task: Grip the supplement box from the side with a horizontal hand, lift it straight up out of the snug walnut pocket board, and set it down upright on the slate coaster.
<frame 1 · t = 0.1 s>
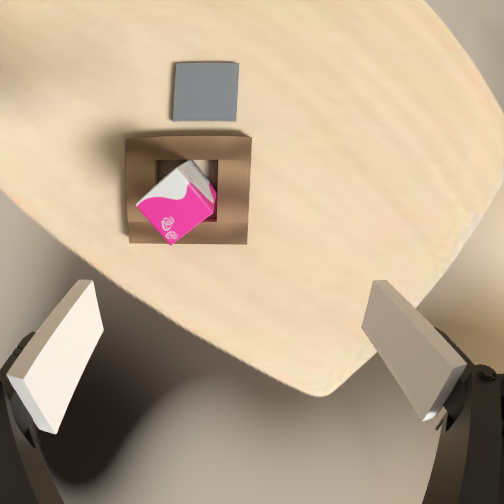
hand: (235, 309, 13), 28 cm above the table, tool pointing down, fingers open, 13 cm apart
pocket board: (187, 189, 38), on the table
supplement box: (187, 188, 38), resting in pocket board
coaster: (206, 91, 34), on the table
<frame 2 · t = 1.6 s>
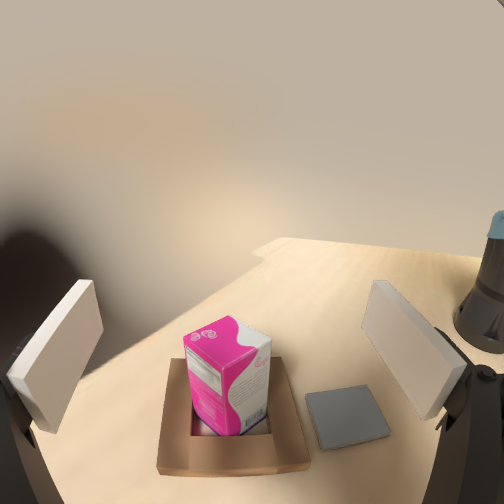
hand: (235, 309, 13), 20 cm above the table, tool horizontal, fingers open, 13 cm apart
pocket board: (229, 416, 29), on the table
supplement box: (229, 417, 29), resting in pocket board
coaster: (346, 417, 29), on the table
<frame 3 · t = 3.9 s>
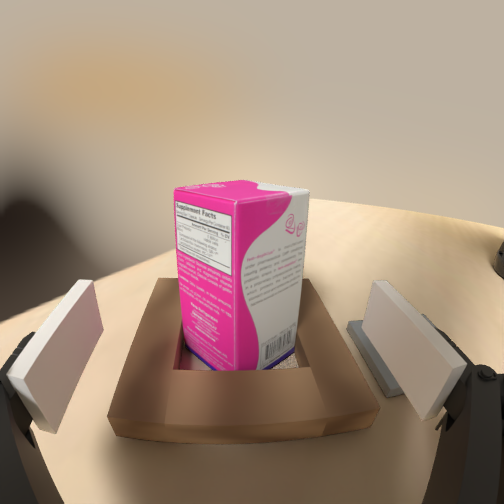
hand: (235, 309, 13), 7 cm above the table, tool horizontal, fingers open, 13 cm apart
pocket board: (238, 350, 20), on the table
supplement box: (238, 353, 21), resting in pocket board
coaster: (407, 352, 20), on the table
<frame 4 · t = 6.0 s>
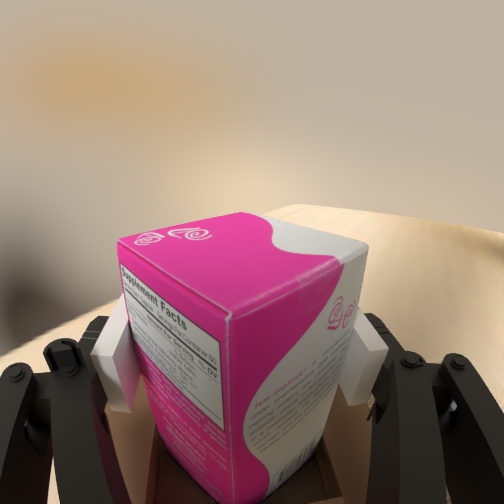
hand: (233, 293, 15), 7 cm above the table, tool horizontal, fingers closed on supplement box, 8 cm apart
pocket board: (237, 454, 13), on the table
supplement box: (237, 456, 13), resting in pocket board, touching gripper
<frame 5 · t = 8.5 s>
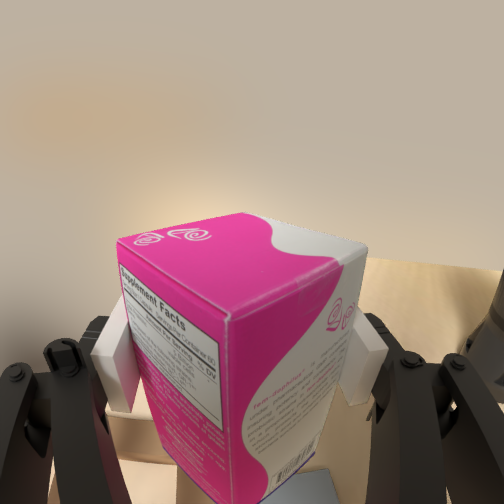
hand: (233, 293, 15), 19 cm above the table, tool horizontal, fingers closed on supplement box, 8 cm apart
pocket board: (133, 496, 17), on the table
supplement box: (236, 456, 13), point 11 cm above the table, touching gripper
when the fingers open (9 cm above the table, at t = 11.0 s): supplement box drops 2 cm, resting on coaster.
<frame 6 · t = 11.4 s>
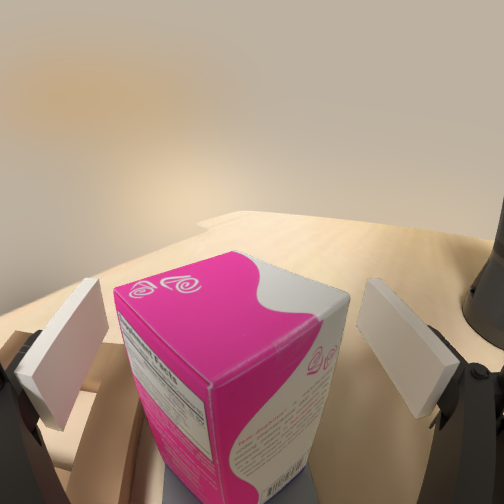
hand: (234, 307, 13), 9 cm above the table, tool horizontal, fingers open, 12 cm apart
pocket board: (47, 424, 14), on the table
supplement box: (231, 470, 13), point 1 cm above the table, touching coaster
coaster: (236, 473, 13), on the table
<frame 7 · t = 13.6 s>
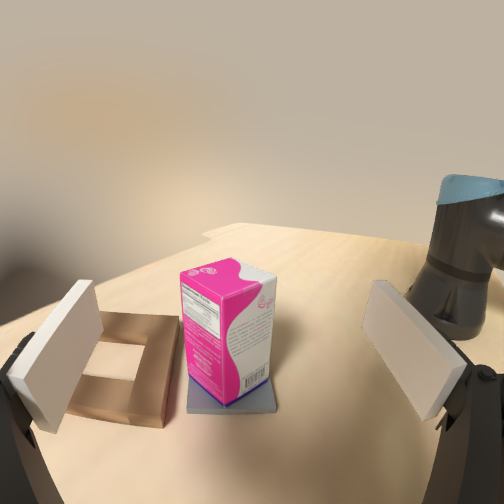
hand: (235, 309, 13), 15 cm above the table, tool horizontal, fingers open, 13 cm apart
pocket board: (110, 364, 28), on the table
supplement box: (226, 380, 27), point 1 cm above the table, touching coaster
coaster: (229, 384, 28), on the table
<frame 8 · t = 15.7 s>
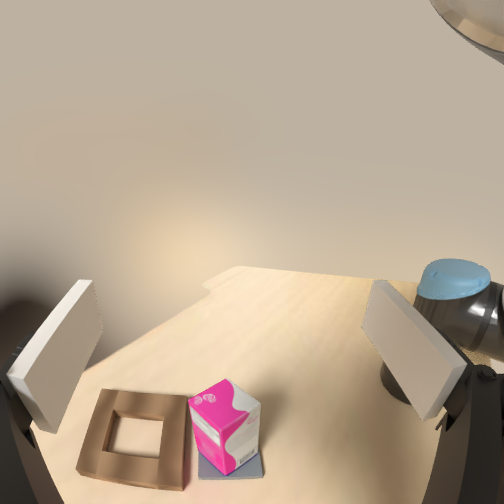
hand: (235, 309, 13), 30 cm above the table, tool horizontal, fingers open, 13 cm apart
pocket board: (136, 439, 33), on the table
supplement box: (226, 453, 32), point 1 cm above the table, touching coaster
coaster: (229, 455, 33), on the table
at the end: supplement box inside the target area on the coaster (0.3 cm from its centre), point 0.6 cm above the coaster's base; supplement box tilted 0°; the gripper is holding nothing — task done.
